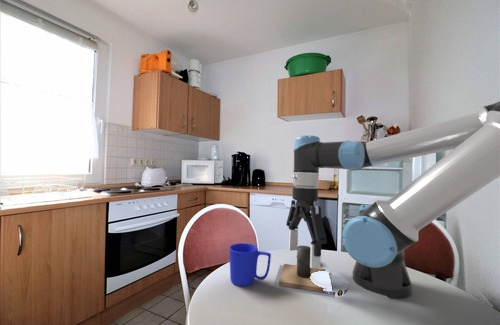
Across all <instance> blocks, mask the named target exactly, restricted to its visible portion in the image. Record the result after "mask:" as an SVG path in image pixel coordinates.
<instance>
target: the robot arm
mask: <svg viewBox="0 0 500 325" xmlns="http://www.w3.org/2000/svg"><path fill="white" fill-rule="evenodd" d="M446 151H450V152H449V153H447V154H446V155H445V156H443V157H442V158H440V159H439V160H438V161H437V162H436V163H434V164H433V165H432V166H431V167H429V168H428V169H427V170H426V171H424V172H423V173H421V174H420V175H419V176H418V177H416V178H415V179H414V180H413V181H411V182H410V183H409V184H407V185H406V186H405V187H404V188H402V189H401V190H400V191H398V192H397V193H396V194H394V195H393V196H392V197H390V198H389V199H388V200H379V199H377V200H376V201H374V202H373V203H372V204H360V206H359V210H358V213H359V214H358V215H357V216H355V217H352V218H351V219H348V221H347V223H345V226H344V228H343V229H342V237H341V238H342V243H343V246H344V249H345V250H346V252H347V254H348V255H349V256H350V257H351V258H352V259H353V260H354V261H355V264H354V266H353V269H352V280H353V281H354V283H355V284H356V285H358V286H359V287H361V288H362V289H365V290H367V291H369V292H371V293H375V294H378V295H381V296H386V297H388V298H393V299H396V298H397V299H401V298H408V297H411V295H413V294H412V293H413V291H412V290H413V284H412V281H411V277H410V275H409V272H408V269H407V266H406V264H405V250H406V249H408V248H409V247H410V246H413V245H414V244H415V243H417V242H419V232H420V230H422V229H423V228H424V227H426V226H428V225H429V224H431V223H432V222H434V221H435V220H437V219H438V218H440V217H441V216H442V215H445V214H446V213H447V212H449V211H450V210H452V209H453V208H455V207H456V206H457V205H460V204H461V203H462V202H464V201H466V199H468V198H470V197H471V196H473V195H475V193H477V192H479V191H480V190H481V189H483V188H484V187H486V186H487V185H490V183H492V182H493V181H495V180H496V179H498V178H500V101H497V102H495V103H491V104H489V105H485V106H481V107H479V109H478V110H477V111H476V112H475V113H471V114H468V115H464V116H460V117H456V118H452V119H449V120H444V121H441V122H438V123H433V124H429V125H426V126H422V127H418V128H415V129H411V130H408V131H403V132H399V133H396V134H392V135H389V136H386V137H381V138H378V139H374V140H370V141H366V142H361V141H358V140H354V141H353V140H346V141H345V140H344V141H330V142H326V141H325V142H322V141H321V138H320V137H319V136H316V135H299V136H297V137H295V140H294V147H293V175H292V180H293V181H292V186H294V187H293V188H292V200H291V204H290V208H289V213H288V216H287V219H286V222H285V224H286V227H288V230H289V234H288V235H289V236H288V239H289V240H288V251H291V252H292V251H297V247H298V246H299V245H298V242H299V240H298V239H299V230H298V229H299V224H300V223H301V221H302V220H303V221H304V222H305V223H306V226H307V229H308V231H309V234H310V238H311V242H310V248H311V251H310V267H311V268H320V269H321V261H322V260H321V259H322V258H321V256H322V245H324V244H327V243H328V240H327V235H326V230H325V226H324V221H323V217H322V207H321V206H317V205H316V206H315V202H317V201H318V200H319V189H318V187H319V181H320V180H319V178H320V177H319V176H320V175H319V174H320V173H319V170H320V168H321V169H342V170H348V171H359V170H362V169H365V168H370V167H374V166H377V165H383V164H388V163H392V162H398V161H404V160H407V159H412V158H417V157H421V156H422V157H423V156H427V155H432V154H437V153H442V152H446Z"/></svg>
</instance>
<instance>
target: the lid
mask: <svg viewBox="0 0 500 325" xmlns="http://www.w3.org/2000/svg"><path fill="white" fill-rule="evenodd" d="M296 251H297V252H296V265H295V264H289V263H283V265H284V266H283V270H282V273H281V276H280V280H279V286H284V287H290V288H296V289H303V290H309V291H315V292H321V293H325V292H324V291H323V289H324V288H322V287H319V286H317V285H315V284H314V283H313V282H312V281H311V279H310V276H311V274H312V273H314V272H318V271H326V269H325V268H321V267H320V268H311V267H310V251H311V246H308V245H297V250H296Z"/></svg>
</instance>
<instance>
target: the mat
mask: <svg viewBox="0 0 500 325" xmlns="http://www.w3.org/2000/svg"><path fill="white" fill-rule="evenodd" d="M283 266H284V264H283V265H282V264H280V265H279V268H278V271H277V273H276V277H275V279H274V282H273V286H272V288H274V289H278V290H279V289H280V290H284V291H285V290H286V291H291V292H297V293H303V294H309V295H317V296H322V297H326V298H327V297H328V298H334V299H335V294H334V295H331V294H327V293H321V292H315V291H309V290H303V289H296V288H290V287H284V286H279V280H280V276H281V273H282V270H283Z"/></svg>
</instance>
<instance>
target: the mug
mask: <svg viewBox="0 0 500 325" xmlns="http://www.w3.org/2000/svg"><path fill="white" fill-rule="evenodd" d="M228 248H229V270H230V271H229V273H230V274H229V275H230V282H231V283H232V284H233V285H235V286H236V287H242V288H244V287H249V286H252V284H254V282H255V279H257V280H259V281H263V280H265V279H266V278H267V277H268V274H269V271H270V267H271V260H272V259H271V258H272V254H271V252H267V251H259V250H258V246H256V245H255V244H252V243H244V242H243V243H234V244H231V245H230V246H229V247H228ZM259 256H267V267H266V271H265V273H264V275H263V276H259V275H257V268H258V267H257V266H258V258H259Z"/></svg>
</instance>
